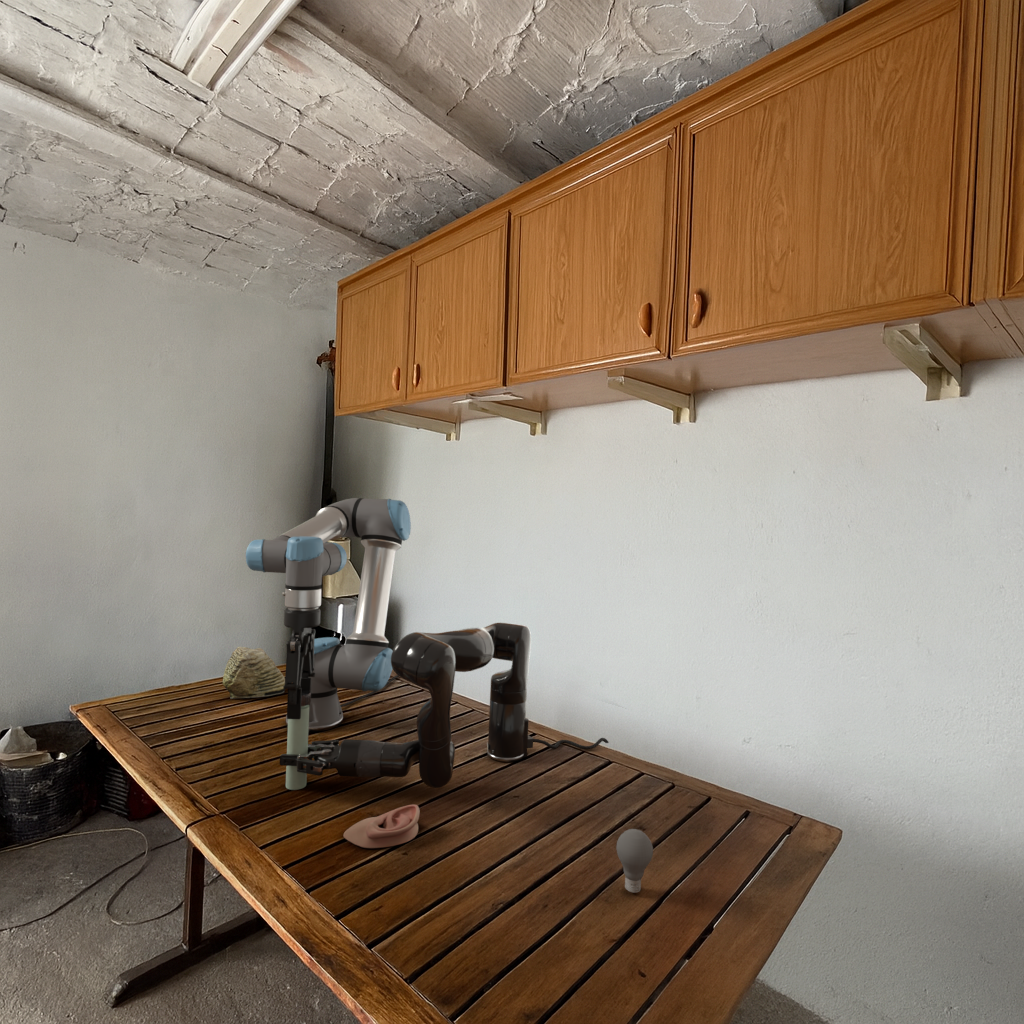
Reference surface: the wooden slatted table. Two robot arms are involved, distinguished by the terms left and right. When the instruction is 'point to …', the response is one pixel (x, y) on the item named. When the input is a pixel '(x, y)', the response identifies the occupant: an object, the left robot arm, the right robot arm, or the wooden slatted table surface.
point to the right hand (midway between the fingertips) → (284, 755)
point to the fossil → (252, 674)
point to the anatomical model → (385, 828)
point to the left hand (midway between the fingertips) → (298, 712)
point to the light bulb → (634, 857)
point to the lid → (305, 697)
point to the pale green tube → (297, 748)
